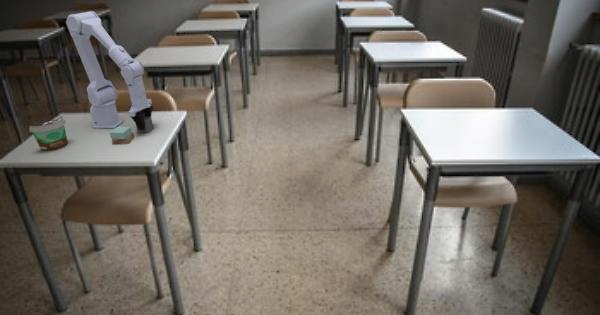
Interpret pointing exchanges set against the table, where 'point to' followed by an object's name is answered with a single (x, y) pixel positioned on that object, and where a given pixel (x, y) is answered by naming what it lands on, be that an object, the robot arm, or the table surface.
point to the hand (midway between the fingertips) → (144, 127)
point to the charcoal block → (146, 125)
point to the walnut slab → (123, 140)
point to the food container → (50, 134)
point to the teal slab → (120, 132)
